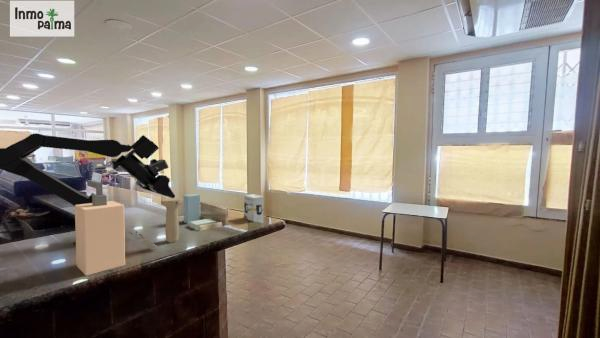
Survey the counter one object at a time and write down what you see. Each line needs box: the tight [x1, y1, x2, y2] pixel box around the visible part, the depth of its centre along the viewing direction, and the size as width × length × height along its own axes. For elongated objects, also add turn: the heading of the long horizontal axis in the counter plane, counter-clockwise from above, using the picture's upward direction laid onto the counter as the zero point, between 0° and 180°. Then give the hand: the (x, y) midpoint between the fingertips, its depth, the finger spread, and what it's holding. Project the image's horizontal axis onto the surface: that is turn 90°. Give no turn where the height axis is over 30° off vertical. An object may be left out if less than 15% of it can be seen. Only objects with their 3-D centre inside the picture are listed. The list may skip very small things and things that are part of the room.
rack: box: [178, 201, 229, 232], centre depth 112 cm, size 12×20×8 cm, turn 47°
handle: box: [160, 197, 183, 243], centre depth 89 cm, size 5×6×15 cm
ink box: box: [243, 193, 264, 224], centre depth 120 cm, size 9×5×12 cm, turn 42°
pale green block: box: [189, 218, 217, 231], centre depth 107 cm, size 8×6×2 cm
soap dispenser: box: [74, 179, 126, 276], centre depth 74 cm, size 13×9×22 cm
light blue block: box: [182, 193, 201, 225], centre depth 113 cm, size 5×4×12 cm
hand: (169, 195), depth 106 cm, fingers open, 9 cm apart
